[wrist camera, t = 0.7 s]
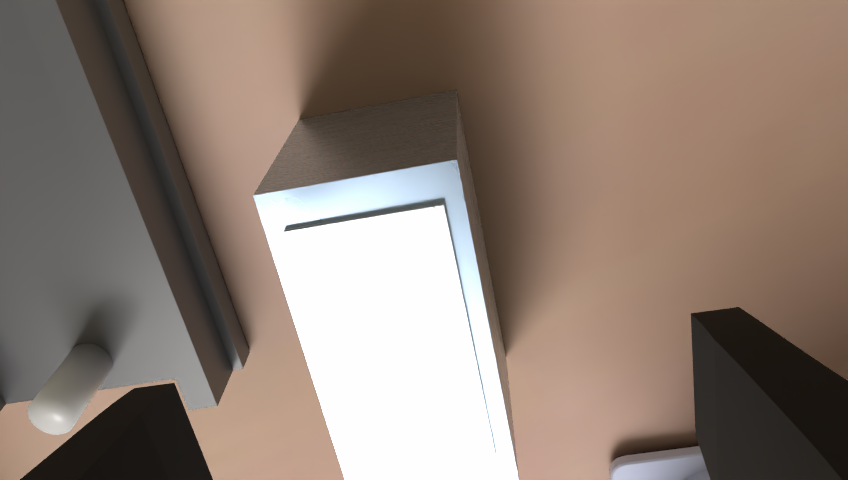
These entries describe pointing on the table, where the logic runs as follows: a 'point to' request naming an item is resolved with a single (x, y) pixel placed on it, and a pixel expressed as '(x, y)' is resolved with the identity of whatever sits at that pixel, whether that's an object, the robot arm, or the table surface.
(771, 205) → the table surface
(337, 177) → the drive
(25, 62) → the tray
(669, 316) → the table surface
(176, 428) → the robot arm
